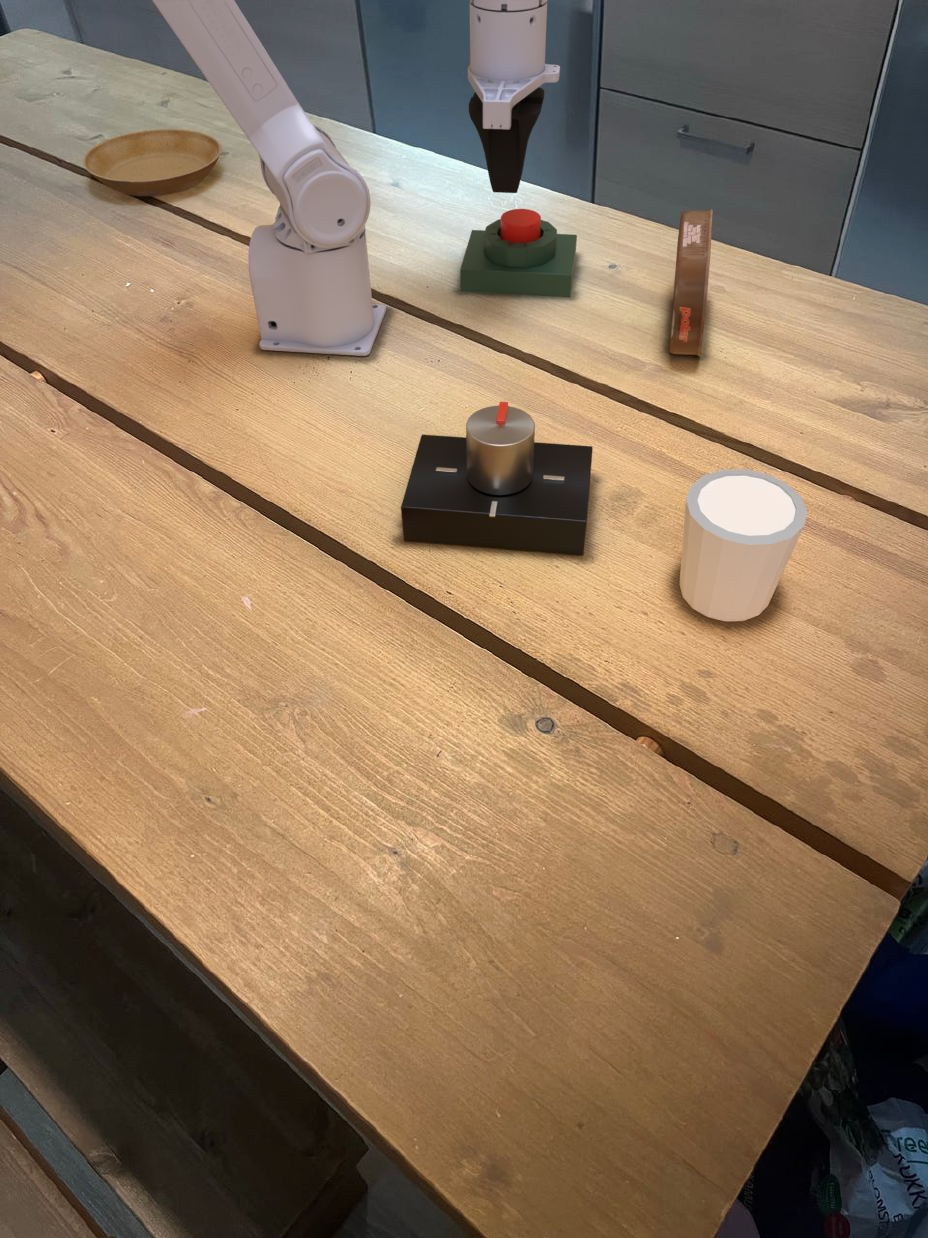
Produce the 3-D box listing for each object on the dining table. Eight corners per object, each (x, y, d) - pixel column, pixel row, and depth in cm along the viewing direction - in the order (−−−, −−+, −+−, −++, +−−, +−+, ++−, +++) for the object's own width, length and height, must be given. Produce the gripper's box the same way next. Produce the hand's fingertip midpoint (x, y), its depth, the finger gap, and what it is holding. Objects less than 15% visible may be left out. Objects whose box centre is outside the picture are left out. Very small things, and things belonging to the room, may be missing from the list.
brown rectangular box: (699, 376, 77) (717, 277, 71) (659, 372, 77) (674, 273, 71) (704, 286, 87) (721, 192, 81) (669, 283, 87) (683, 190, 81)
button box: (460, 291, 87) (459, 249, 84) (472, 251, 92) (471, 210, 89) (570, 297, 86) (573, 255, 83) (575, 256, 91) (578, 215, 88)
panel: (402, 544, 64) (399, 507, 61) (424, 465, 69) (422, 429, 67) (583, 559, 62) (586, 522, 60) (589, 477, 68) (593, 441, 66)
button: (498, 244, 85) (498, 224, 84) (502, 226, 88) (503, 207, 87) (538, 246, 85) (539, 226, 84) (541, 228, 87) (542, 209, 86)
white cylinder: (757, 645, 57) (784, 559, 52) (652, 602, 59) (667, 517, 54) (795, 576, 61) (823, 490, 56) (694, 539, 63) (713, 453, 58)
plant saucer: (163, 142, 113) (158, 118, 111) (253, 169, 107) (249, 145, 105) (62, 185, 105) (54, 160, 103) (152, 217, 99) (146, 192, 97)
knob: (530, 497, 62) (532, 443, 59) (462, 493, 62) (461, 439, 59) (535, 456, 65) (537, 403, 62) (471, 452, 65) (470, 399, 62)
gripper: (555, 32, 64) (546, 229, 74) (569, -25, 74) (559, 156, 84) (452, 29, 65) (457, 225, 75) (479, -26, 75) (480, 153, 85)
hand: (505, 189), depth 80 cm, fingers closed
